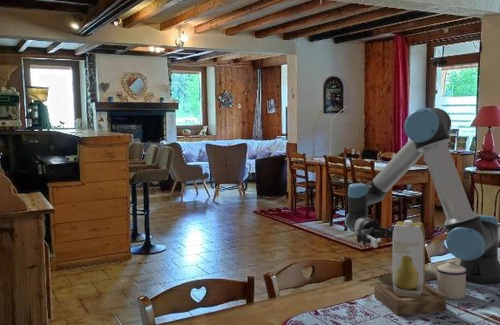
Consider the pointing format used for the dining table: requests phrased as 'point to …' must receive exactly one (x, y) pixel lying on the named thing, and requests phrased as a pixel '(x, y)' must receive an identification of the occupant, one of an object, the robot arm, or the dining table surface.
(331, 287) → the dining table surface
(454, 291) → the teacup with lid
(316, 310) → the dining table surface
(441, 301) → the wooden tray
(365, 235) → the robot arm
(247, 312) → the dining table surface
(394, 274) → the juice carton
